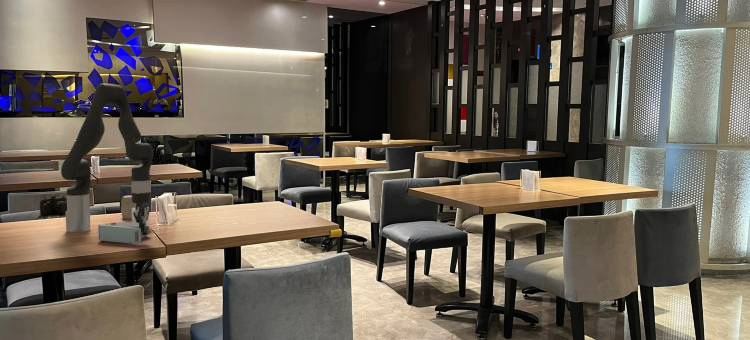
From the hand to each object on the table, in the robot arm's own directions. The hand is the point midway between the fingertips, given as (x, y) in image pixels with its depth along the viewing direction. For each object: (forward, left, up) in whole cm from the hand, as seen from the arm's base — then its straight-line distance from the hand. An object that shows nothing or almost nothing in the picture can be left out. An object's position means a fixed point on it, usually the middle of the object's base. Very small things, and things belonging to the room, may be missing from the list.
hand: (142, 231), depth 237 cm
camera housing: (-11, +8, -4) cm, 14 cm away
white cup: (-11, +28, -5) cm, 31 cm away
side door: (-18, +3, -4) cm, 19 cm away
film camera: (-72, +74, -5) cm, 103 cm away
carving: (-27, +55, -5) cm, 62 cm away
